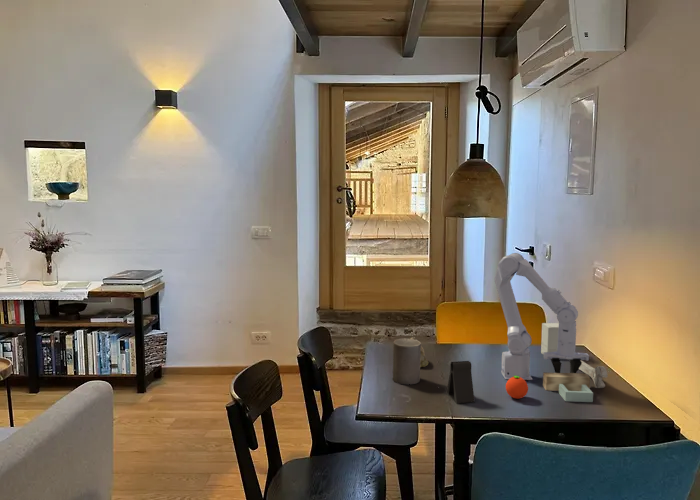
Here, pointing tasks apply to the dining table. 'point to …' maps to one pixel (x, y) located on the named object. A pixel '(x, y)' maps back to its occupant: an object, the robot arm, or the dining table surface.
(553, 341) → the supplement box
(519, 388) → the clementine
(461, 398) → the phone stand
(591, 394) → the bracket
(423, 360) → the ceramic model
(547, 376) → the tan rectangular block
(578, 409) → the dining table surface
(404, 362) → the pillar candle
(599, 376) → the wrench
